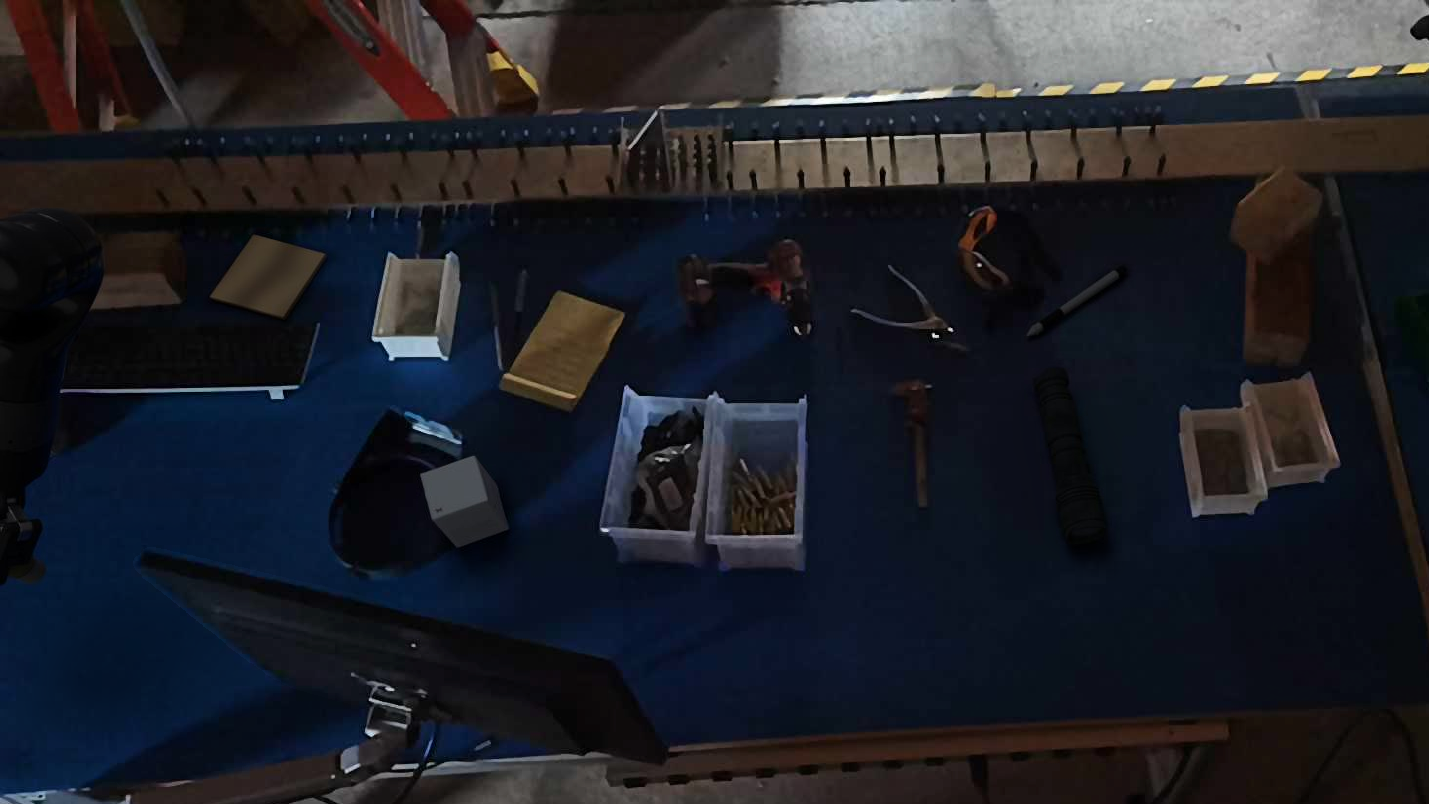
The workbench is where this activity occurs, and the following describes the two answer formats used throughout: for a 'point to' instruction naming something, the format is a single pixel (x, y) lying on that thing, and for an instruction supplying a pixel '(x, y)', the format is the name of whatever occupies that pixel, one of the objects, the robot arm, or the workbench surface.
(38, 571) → the light bulb
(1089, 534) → the flashlight
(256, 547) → the workbench surface
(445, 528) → the product box
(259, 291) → the mat
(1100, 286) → the pen
